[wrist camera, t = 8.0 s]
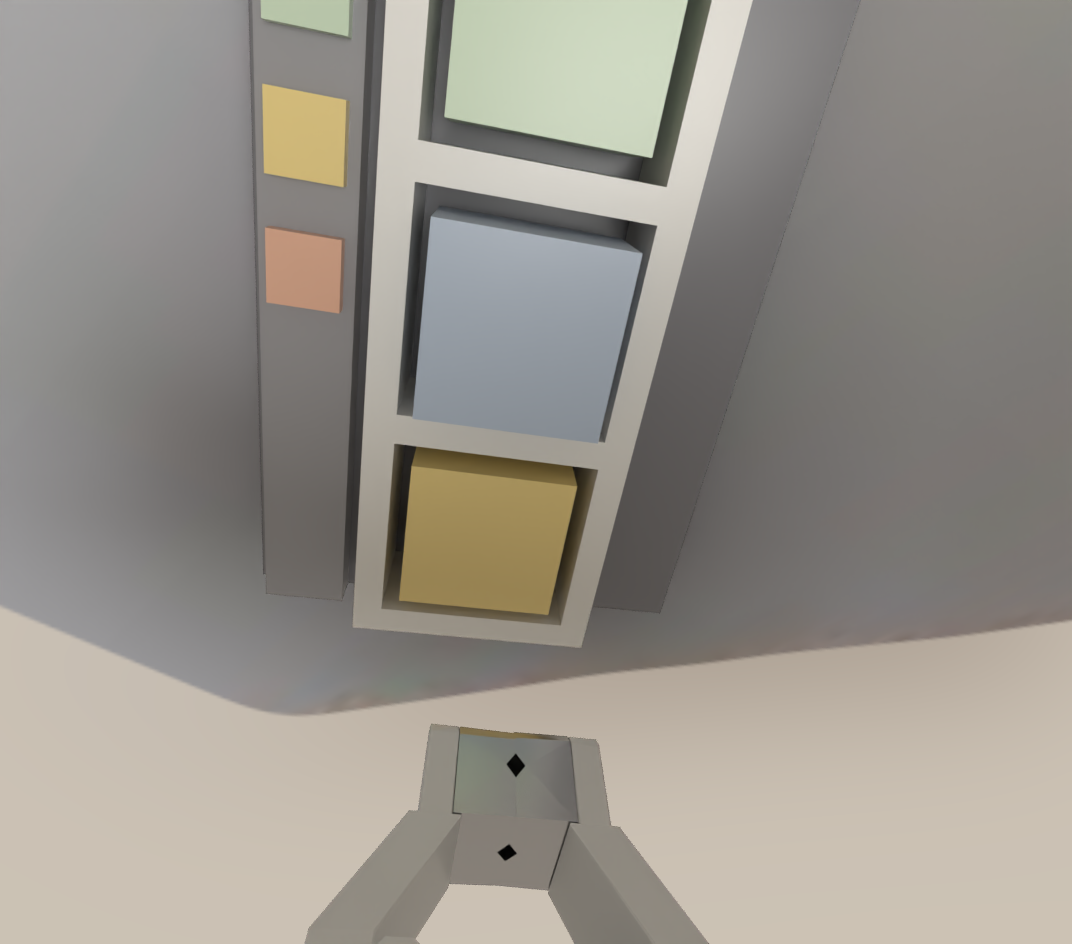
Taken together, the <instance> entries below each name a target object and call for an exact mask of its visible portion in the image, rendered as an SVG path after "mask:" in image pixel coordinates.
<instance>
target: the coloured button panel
mask: <svg viewBox="0 0 1072 944" xmlns="http://www.w3.org/2000/svg"><path fill="white" fill-rule="evenodd" d="M860 1H861V0H688V3H687V7H686V11H685V16H684V20H683V25H682V29H681V33H680V38H679V42H678V47H677V51H676V55H675V60H674V64H673V68H672V73H671V77H670V82H669V86H668V90H667V95H666V99H665V104H664V108H663V112H662V117H661V121H660V126H659V130H658V134H657V139H656V143H655V148H654V152H653V156H652V158H645V157H629V156H624V155H619V154H614V153H609V152H604V151H599V150H594V149H589V148H584V147H578V146H573V145H568V144H563V143H558V142H553V141H548V140H543V139H538V138H533V137H527V136H522V135H517V134H512V133H507V132H502V131H497V130H492V129H487V128H482V127H477V126H471V125H466V124H461V123H456V122H451V121H450V120H448V119H447V118H445V117H444V114H445V103H446V93H447V82H448V71H449V61H450V50H451V39H452V28H453V18H454V7H455V0H249V35H250V74H251V113H252V151H253V190H254V229H255V268H256V307H257V346H258V385H259V424H260V462H261V501H262V540H263V574H266V594H274V595H285V596H295V597H306V598H316V599H327V600H338V601H342V599H343V596H344V593H345V590H346V587H347V584H348V582H349V583H355V589H354V607H353V626H352V627H354V628H365V629H376V630H388V631H399V632H410V633H421V634H432V635H443V636H454V637H465V638H477V639H488V640H499V641H510V642H521V643H532V644H543V645H555V646H566V647H577V648H581V646H582V643H583V639H584V635H585V631H586V627H587V624H588V620H589V616H590V612H591V609H592V607H602V608H612V609H622V610H632V611H643V612H653V613H660V612H661V609H662V606H663V603H664V600H665V596H666V593H667V590H668V587H669V584H670V581H671V578H672V575H673V572H674V569H675V566H676V563H677V560H678V557H679V554H680V551H681V548H682V545H683V542H684V538H685V535H686V532H687V529H688V526H689V523H690V520H691V517H692V514H693V511H694V508H695V505H696V502H697V499H698V496H699V493H700V490H701V487H702V483H703V480H704V477H705V474H706V471H707V468H708V465H709V462H710V459H711V456H712V453H713V450H714V447H715V444H716V441H717V438H718V435H719V432H720V428H721V425H722V422H723V419H724V416H725V413H726V410H727V407H728V404H729V401H730V398H731V395H732V392H733V389H734V386H735V383H736V380H737V377H738V373H739V370H740V367H741V364H742V361H743V358H744V355H745V352H746V349H747V346H748V343H749V340H750V337H751V334H752V331H753V328H754V325H755V322H756V318H757V315H758V312H759V309H760V306H761V303H762V300H763V297H764V294H765V291H766V288H767V285H768V282H769V279H770V276H771V273H772V270H773V267H774V263H775V260H776V257H777V254H778V251H779V248H780V245H781V242H782V239H783V236H784V233H785V230H786V227H787V224H788V221H789V218H790V215H791V212H792V208H793V205H794V202H795V199H796V196H797V193H798V190H799V187H800V184H801V181H802V178H803V175H804V172H805V169H806V166H807V163H808V160H809V157H810V153H811V150H812V147H813V144H814V141H815V138H816V135H817V132H818V129H819V126H820V123H821V120H822V117H823V114H824V111H825V108H826V105H827V102H828V98H829V95H830V92H831V89H832V86H833V83H834V80H835V77H836V74H837V71H838V68H839V65H840V62H841V59H842V56H843V53H844V50H845V47H846V43H847V40H848V37H849V34H850V31H851V28H852V25H853V22H854V19H855V16H856V13H857V10H858V7H859V4H860ZM440 206H442V207H448V208H453V209H459V210H465V211H470V212H476V213H481V214H487V215H493V216H498V217H504V218H509V219H515V220H521V221H526V222H532V223H538V224H543V225H549V226H554V227H560V228H566V229H571V230H577V231H582V232H588V233H594V234H599V235H605V236H610V237H616V238H621V239H623V240H624V241H626V242H627V243H628V244H630V245H631V246H633V247H634V248H635V249H637V250H638V251H640V252H641V253H643V255H642V259H641V263H640V268H639V272H638V276H637V280H636V284H635V289H634V293H633V297H632V301H631V306H630V310H629V314H628V318H627V323H626V327H625V331H624V335H623V340H622V344H621V348H620V352H619V356H618V361H617V365H616V369H615V373H614V378H613V382H612V386H611V390H610V395H609V399H608V403H607V407H606V412H605V416H604V420H603V424H602V428H601V433H600V437H599V441H598V444H597V443H589V442H582V441H574V440H567V439H559V438H552V437H544V436H537V435H529V434H522V433H514V432H507V431H499V430H492V429H484V428H477V427H469V426H462V425H454V424H447V423H439V422H432V421H424V420H417V419H412V418H413V407H414V396H415V385H416V374H417V363H418V352H419V341H420V330H421V319H422V308H423V297H424V286H425V275H426V264H427V253H428V241H429V230H430V219H431V216H432V214H433V213H434V212H435V211H436V210H437V209H438V208H439V207H440ZM417 446H418V447H426V448H433V449H441V450H449V451H457V452H465V453H472V454H480V455H488V456H496V457H504V458H511V459H519V460H527V461H535V462H543V463H551V464H558V465H566V466H572V467H573V471H574V475H575V479H576V483H577V490H576V495H575V499H574V503H573V508H572V512H571V517H570V521H569V525H568V530H567V534H566V539H565V543H564V547H563V552H562V556H561V561H560V565H559V569H558V574H557V578H556V583H555V587H554V591H553V596H552V600H551V604H550V609H549V613H548V615H544V614H533V613H523V612H513V611H502V610H492V609H481V608H471V607H461V606H450V605H440V604H429V603H419V602H409V601H399V596H400V585H401V574H402V564H403V553H404V542H405V531H406V521H407V510H408V499H409V489H410V478H411V467H412V463H413V459H414V455H415V451H416V447H417Z"/></svg>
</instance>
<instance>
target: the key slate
mask: <svg viewBox="0 0 1072 944" xmlns="http://www.w3.org/2000/svg"><path fill="white" fill-rule="evenodd" d="M642 255H643V253H641V252H640V251H638V250H637V249H635V248H634V247H633V246H631V245H630V244H628V243H627V242H626V241H624V240H623V239H621V238H616V237H610V236H605V235H599V234H594V233H588V232H582V231H577V230H571V229H566V228H560V227H554V226H549V225H543V224H538V223H532V222H526V221H521V220H515V219H509V218H504V217H498V216H493V215H487V214H481V213H476V212H470V211H465V210H459V209H453V208H448V207H442V206H440V207H439V208H438V209H437V210H436V211H435V212H434V213H433V214H432V216H431V219H430V230H429V241H428V253H427V264H426V275H425V286H424V297H423V308H422V319H421V330H420V341H419V352H418V363H417V374H416V385H415V396H414V407H413V418H412V419H417V420H424V421H432V422H439V423H447V424H454V425H462V426H469V427H477V428H484V429H492V430H499V431H507V432H514V433H522V434H529V435H537V436H544V437H552V438H559V439H567V440H574V441H582V442H589V443H597V444H598V441H599V437H600V433H601V428H602V424H603V420H604V416H605V412H606V407H607V403H608V399H609V395H610V390H611V386H612V382H613V378H614V373H615V369H616V365H617V361H618V356H619V352H620V348H621V344H622V340H623V335H624V331H625V327H626V323H627V318H628V314H629V310H630V306H631V301H632V297H633V293H634V289H635V284H636V280H637V276H638V272H639V268H640V263H641V259H642Z"/></svg>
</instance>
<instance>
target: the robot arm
mask: <svg viewBox="0 0 1072 944" xmlns="http://www.w3.org/2000/svg"><path fill="white" fill-rule="evenodd" d="M449 884H467V885H496V886H507V887H518V888H528V889H539V890H549V892H548V894H549V896H550V898H551V900H552V902H553V904H554V906H555V907H556V909H557V911H558V913H559V915H560V917H561V919H562V921H563V923H564V925H565V927H566V928H567V930H568V932H569V934H570V936H571V938H572V940H573V942H574V944H709V943H708V942H707V940H706V939H705V938H704V937H703V935H702V934H701V933H700V931H699V930H698V929H697V927H696V926H695V925H694V924H693V922H692V921H691V920H690V918H689V917H688V916H687V914H686V913H685V912H684V911H683V909H682V908H681V907H680V905H679V904H678V903H677V901H676V900H675V899H674V898H673V896H672V895H671V894H670V893H669V891H668V890H667V888H666V887H665V886H664V884H663V883H662V882H661V880H660V879H659V878H658V877H657V875H656V874H655V873H654V871H653V870H652V869H651V868H650V866H649V865H648V864H647V862H646V861H645V860H644V858H643V857H642V856H641V854H640V853H639V852H638V851H637V849H636V848H635V847H634V845H633V844H632V843H631V841H630V840H629V839H628V837H627V836H626V835H625V834H624V832H623V831H622V830H621V828H620V827H615V826H611V822H610V816H609V809H608V802H607V795H606V789H605V782H604V775H603V769H602V763H601V756H600V750H599V744H598V743H597V741H596V740H594V739H583V738H573V737H569V738H568V737H567V736H555V735H542V734H530V733H517V732H514V733H508V732H499V731H490V730H483V729H474V728H466V727H460V728H459V727H457V726H456V727H455V726H447V725H437V724H431V726H430V730H429V735H428V742H427V750H426V757H425V763H424V771H423V778H422V785H421V792H420V800H419V806H418V811H408V813H407V814H406V815H405V816H404V817H403V818H402V820H401V821H400V822H399V823H398V824H397V825H396V827H395V828H394V829H393V830H392V831H391V832H390V834H389V835H388V836H387V837H386V838H385V839H384V841H383V842H382V843H381V844H380V845H379V846H378V848H377V849H376V850H375V851H374V852H373V854H372V855H371V856H370V857H369V858H368V859H367V861H366V862H365V863H364V864H363V865H362V866H361V868H360V869H359V870H358V871H357V872H356V873H355V875H354V876H353V877H352V878H351V879H350V881H349V882H348V883H347V884H346V885H345V886H344V887H343V889H342V890H341V891H340V892H339V893H338V895H337V896H336V897H335V898H334V899H333V900H332V902H331V903H330V904H329V905H328V906H327V907H326V909H325V910H324V911H323V912H322V913H321V915H320V916H319V917H318V918H317V919H316V920H315V921H314V923H313V924H312V925H311V926H310V927H309V929H308V933H307V937H306V941H305V944H419V943H418V942H417V940H416V937H417V936H418V934H419V933H420V931H421V929H422V928H423V926H424V925H425V923H426V921H427V920H428V918H429V917H430V915H431V914H432V912H433V911H434V909H435V907H436V906H437V904H438V903H439V901H440V900H441V898H442V897H443V895H444V893H445V892H446V890H447V889H448V886H449Z"/></svg>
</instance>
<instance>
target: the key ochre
mask: <svg viewBox="0 0 1072 944" xmlns="http://www.w3.org/2000/svg"><path fill="white" fill-rule="evenodd" d="M576 490H577V483H576V479H575V475H574V471H573V467H572V466H566V465H558V464H551V463H543V462H535V461H527V460H519V459H511V458H504V457H496V456H488V455H480V454H472V453H465V452H457V451H449V450H441V449H433V448H426V447H418V446H417V447H416V451H415V455H414V459H413V463H412V467H411V478H410V489H409V499H408V510H407V521H406V531H405V542H404V553H403V564H402V574H401V585H400V596H399V601H409V602H419V603H429V604H440V605H450V606H461V607H471V608H481V609H492V610H502V611H513V612H523V613H533V614H544V615H548V613H549V609H550V604H551V600H552V596H553V591H554V587H555V583H556V578H557V574H558V569H559V565H560V561H561V556H562V552H563V547H564V543H565V539H566V534H567V530H568V525H569V521H570V517H571V512H572V508H573V503H574V499H575V495H576Z"/></svg>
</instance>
